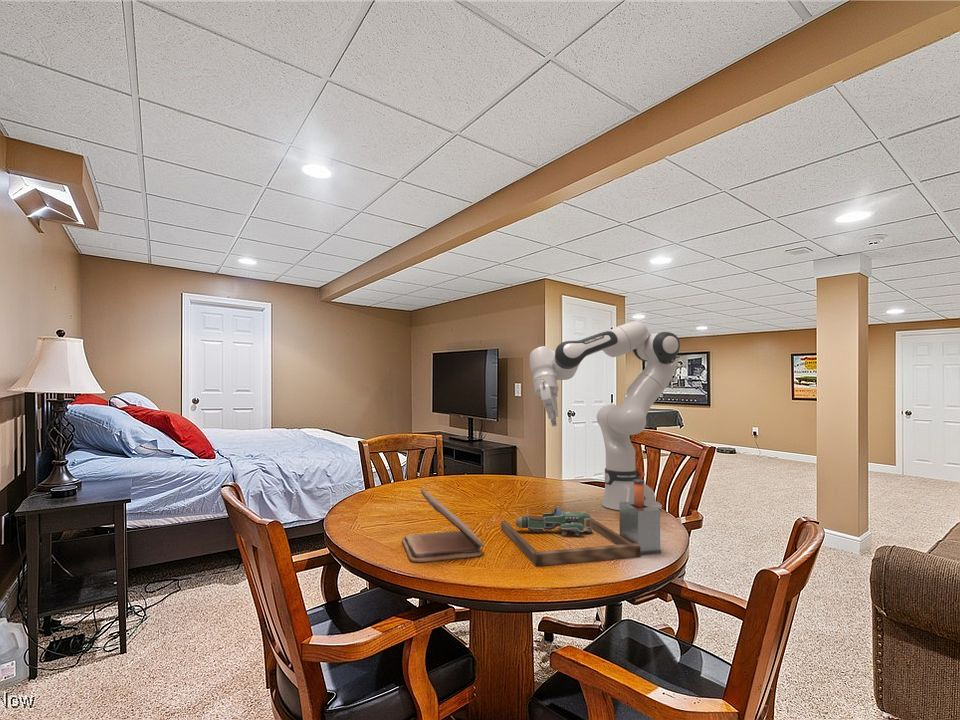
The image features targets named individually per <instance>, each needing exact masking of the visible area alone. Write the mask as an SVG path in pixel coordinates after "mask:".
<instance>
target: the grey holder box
mask: <svg viewBox="0 0 960 720" xmlns="http://www.w3.org/2000/svg"><path fill="white" fill-rule="evenodd" d="M618 511H619V514H618V515H619V516H618V517H619V524H618V525H619V535H620V536H622V537H624V538H625V539H627V540H629V541H630V542H632V543H637V544H638V545H640V554H641V556H643V555H650V554H651V555H652V554H661V553H662V549H661V509H657V508H655V507H652V506H650V505H648V504H646V503H644V508H637V507H634V502H619V510H618Z"/></svg>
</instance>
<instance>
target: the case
mask: <svg viewBox="0 0 960 720" xmlns="http://www.w3.org/2000/svg"><path fill="white" fill-rule="evenodd" d="M420 492H421V494H422V496H423V497H424V499H425V501H427V502H428V505H429V506H432V508H433V510H434V511H436V512H437V513H439V514H441V516H443V518H445V519H446V521H448V522H450V524H451V525H453V526H454V527H456V528H457V531H446V532H445V531H444V532H442V531H441V532H431V533H429V532H428V533H418V534H417V533H414V534H407V535H405V536H404V537H403V538H402V540H401V542H402V545H403V546H404V548H405V552H406V553H407V557H408V559H409V560H410V561H411V562H412V563H426V562H439V561H440V562H441V561H445V560H446V561H447V560H459V559H467V558H476V557H480V556H482V555H483V550H481V548H484V547H485V543H484V542H483V541H482V540H481V539H480V537H478V536H477V535H476V533H474V531H473V530H472V529H471V528H470V527H469V526H468V525H467V524H466V523H465V522H463V521H462V520H461V519H460V518H459V517H458V516H456V514H455V513H453V512H452V511H450V510H449V509H448V508H447V507H446V506H445V505H444V504H442V502H441V501H439V499H437V498H436V497H434V496H433V495H432V494H431V493H429V491H427V490H426V489H424V488H421V489H420Z"/></svg>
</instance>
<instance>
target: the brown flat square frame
mask: <svg viewBox="0 0 960 720" xmlns="http://www.w3.org/2000/svg"><path fill="white" fill-rule="evenodd" d="M591 527H592V529H593V530H592V531H595V532H596V533H598V534H599V535H601V536H602V537H604V538H606V539H607V540H608V541H610V542H611V543H613V545H600V546H590V547H589V546H586V547H577V548H575V547H574V548H566V549H565V548H564V549H556V550H555V549H552V550H543V551H541V550H540V551H537V549H535V548H534V546H532V544H530V543H529V542H528V541H527V540H526V539H525V538H524V537H523V536H522V535H521V534H520V533H519V532H518V531H517V530H516V529H515V528H514V527H513V526H512V525H511V524H509V522H508V521H506V520H501V522H500V529H501V530H502V531H503V532H504V534H505V535H506V536H507V537H508V538H509V539H510V540H511V541H512V542H513V543H514V544H515V545H516V546H517V547H518V548H519V550H521V552H522V553H523V554H524V555H525V556H526V557H527V558H528V559H529V560H530V562H532V564H534V566H536V567H543V566H554V565H555V566H557V565H564V564H565V565H566V564H574V563H575V564H576V563H578V564H579V563H584V562H585V563H586V562H598V561H606V560H607V561H608V560H609V561H610V560H619V559H620V560H621V559H629V558H640V557H641V556H642V555H641V554H640V545H638V544H637V543H632V542H630V541H629V540H627V539H625V538H624V537H622V536H620V533H619V534H618V532H615V531H614V530H613V529H610V528H609V527H608V526H606V525H604V524H602V523H600V522H599V521H597V520H596V519H594V518H592V517H591Z"/></svg>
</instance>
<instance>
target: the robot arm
mask: <svg viewBox="0 0 960 720" xmlns="http://www.w3.org/2000/svg"><path fill="white" fill-rule="evenodd" d="M680 348H681V342H680V339H679V337H678V336H677V334H675V333H672V332H671V331H670V332H668V331H661V332H653V333H650V331H649V330H648V327H647V326H646V325H645V324H644V323H643V322H641V321H637V320H634V321H630V322H626V323H622V324H620V325H617V326H615V327H613V328H611V329H609V330H607V331H603V332H602V331H601V332H599V333H596V334H594V335H590V336H588V337H585V338H582V339H579V340H566V341H562V342H560V343H559V344H558V345H557V346H556V348H555V350H553V349H550V348H549V347H548V346H545V345H542V346H538V347H536V348H535V349H532V351H531V352H530V354H529V367H530V372H531V375H532V384H533V388H534V394H535V395H536V396H538V397H539V398H540V400H541V403H542V404H543V407H544V409H545V412H546V414H547V418H548V419H549V420H550V424H551V426H552V427H557V426H558V425H557V424H558V423H557V417H559V411H558V400H557V398H558V392H559V385H558V381H557V380H559V381H565V380H566V381H567V380H570V379H572V378H573V377H575V374H576V373H577V370H578V368H579V366H580V364H581V362H582V361H583V360H584V359H585V358H586V357H589V356H590V355H593V354H596V353H599V352H601V351H603V353H605V354H606V355H607V356H608V357H611V358H616V357H620V356H623V355H625V354H628V353H630V352H633V354H634V357H636V358H637V359H638V360H640V361H642V362H646V365H645V368H644V369H643V370H642V371H641V372H640V373H639V374H638V375H637V376H636V378H635V379H634V380H633V382H631V384H630V385H629V386H628V387H627V389H626V396H625V398H624V400H623V401H622V402H621V403H620V404H613V403H610V404H607V405H604V406H602V407H601V408H599V409H598V411H597V413H596V421H597V424H598V425H599V427H600V429H601V434H602V438H603V442H604V447H605V449H604V450H605V468H604V483H605V485H604V494H603V498H602V502H601V506H602V507H604V508H607V509H611V510H616V511H619V502H634V482H633V480H634V479H640V477H641V478H644V477H645V476H646V473H645V472H644V471H642V470H637V469H636V449H635V447H634V445H633V444H632V441H631V438H630V436H633V435H639V434H640V433H642V432H643V431H644V430H645V429H646V426H647V415H648V413H649V410H650V409H651V407H652V405H653V404H654V403H655V402H656V400H658V398H659V397H660V396H661V394H662V393H663V392H664V391H665V390H666V388H667V387H668V385H669V384H670V382H671V381H672V378H673V376H674V374H675V369H674V367H673V365H672V363H674V362H675V361H676V359H677V355H678V354H679V351H680ZM656 499H657V498H656V494H655V492H654V489H652V488H651V487H650V486H648V485H647V484H646V482H645V483H644V503H646V504H648V505H650V506H652V507H655V508H657V509H659V510H661V509H662V508H663V505H662V503H660V502H658V501H656Z"/></svg>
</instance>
